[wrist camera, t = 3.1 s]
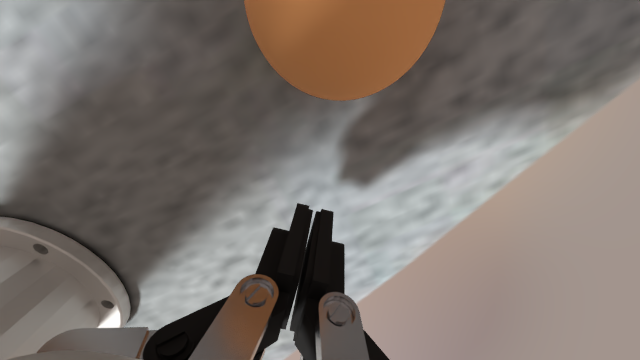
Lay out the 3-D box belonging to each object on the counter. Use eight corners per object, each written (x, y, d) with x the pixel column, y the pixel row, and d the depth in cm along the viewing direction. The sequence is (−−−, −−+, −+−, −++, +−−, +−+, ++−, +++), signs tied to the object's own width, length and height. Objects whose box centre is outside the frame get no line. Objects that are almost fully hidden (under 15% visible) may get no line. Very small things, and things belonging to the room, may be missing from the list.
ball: (353, 113, 13) (368, 161, 7) (243, 34, 11) (164, 22, 6) (446, -13, 10) (569, -77, 5) (321, -131, 9) (303, -396, 4)
